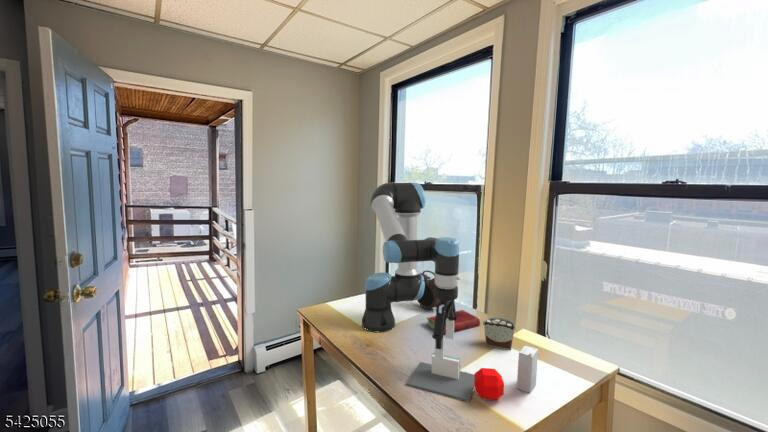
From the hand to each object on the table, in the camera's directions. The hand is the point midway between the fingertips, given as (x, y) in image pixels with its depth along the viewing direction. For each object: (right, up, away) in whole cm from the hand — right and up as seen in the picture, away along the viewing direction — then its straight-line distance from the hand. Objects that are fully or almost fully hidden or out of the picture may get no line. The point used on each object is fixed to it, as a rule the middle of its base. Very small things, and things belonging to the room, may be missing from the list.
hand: (444, 347), depth 110 cm
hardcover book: (+11, -7, +40) cm, 42 cm away
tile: (0, -9, 0) cm, 9 cm away
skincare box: (+25, -11, -6) cm, 28 cm away
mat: (-1, -10, -2) cm, 10 cm away
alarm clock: (+3, -4, +60) cm, 60 cm away
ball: (+11, -11, -10) cm, 19 cm away
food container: (+26, -8, +23) cm, 35 cm away
